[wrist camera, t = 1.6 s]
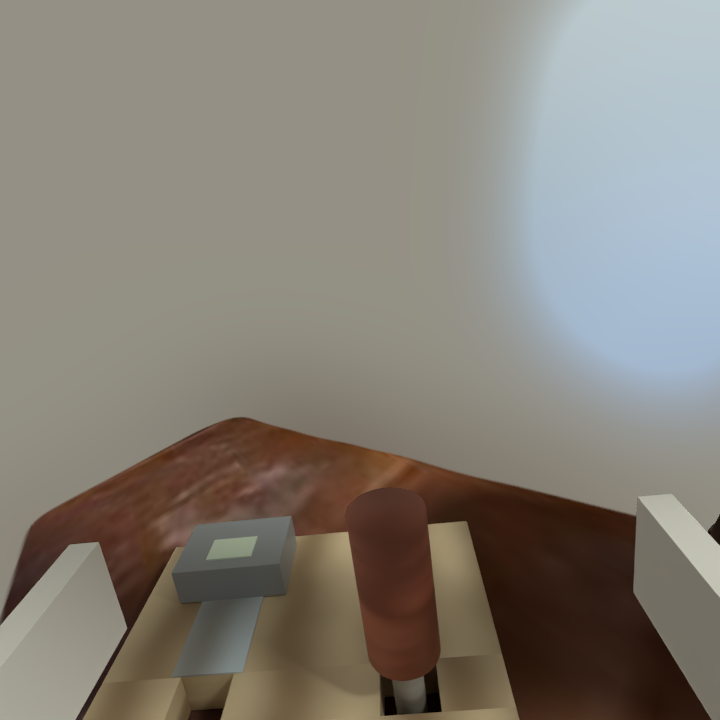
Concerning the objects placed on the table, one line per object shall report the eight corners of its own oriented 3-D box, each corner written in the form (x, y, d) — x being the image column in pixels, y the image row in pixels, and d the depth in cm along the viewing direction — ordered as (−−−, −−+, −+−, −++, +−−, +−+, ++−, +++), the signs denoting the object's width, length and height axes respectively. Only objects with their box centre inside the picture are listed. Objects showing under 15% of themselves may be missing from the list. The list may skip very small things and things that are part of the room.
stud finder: (296, 543, 39) (290, 514, 38) (285, 594, 34) (278, 562, 33) (203, 552, 39) (196, 523, 38) (180, 603, 35) (170, 572, 34)
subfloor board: (468, 549, 40) (466, 519, 39) (553, 886, 21) (552, 842, 20) (183, 574, 41) (175, 546, 40) (20, 909, 22) (-1, 870, 21)
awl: (444, 688, 29) (422, 484, 25) (453, 754, 26) (429, 531, 22) (379, 692, 30) (347, 491, 25) (379, 759, 26) (343, 539, 22)
